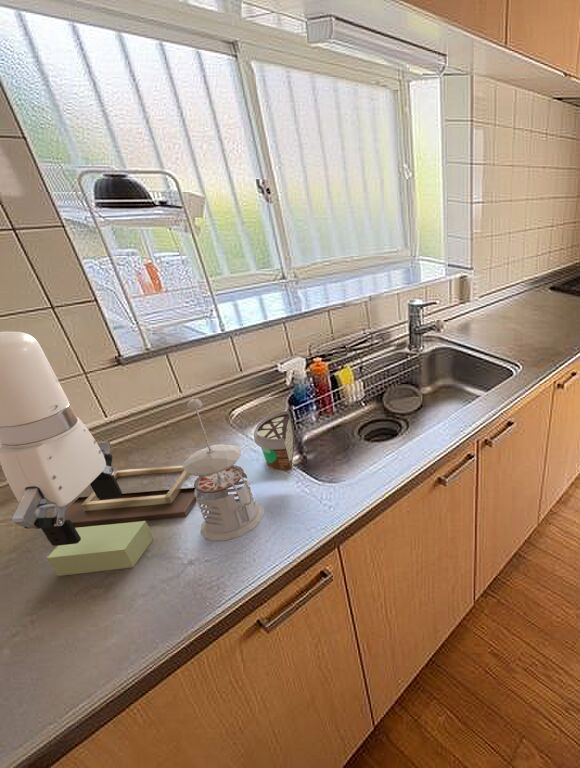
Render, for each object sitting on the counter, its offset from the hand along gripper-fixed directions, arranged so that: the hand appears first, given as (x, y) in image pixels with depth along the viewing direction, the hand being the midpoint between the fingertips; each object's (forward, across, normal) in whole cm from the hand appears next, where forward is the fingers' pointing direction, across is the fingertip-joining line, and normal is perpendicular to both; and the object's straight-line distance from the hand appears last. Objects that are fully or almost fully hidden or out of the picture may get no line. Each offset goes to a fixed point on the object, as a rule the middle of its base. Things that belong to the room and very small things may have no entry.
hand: (90, 518), depth 64 cm
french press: (+9, -5, +16) cm, 19 cm away
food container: (+9, -21, +19) cm, 30 cm away
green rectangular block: (+8, 0, -1) cm, 8 cm away
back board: (+8, -15, -3) cm, 17 cm away
